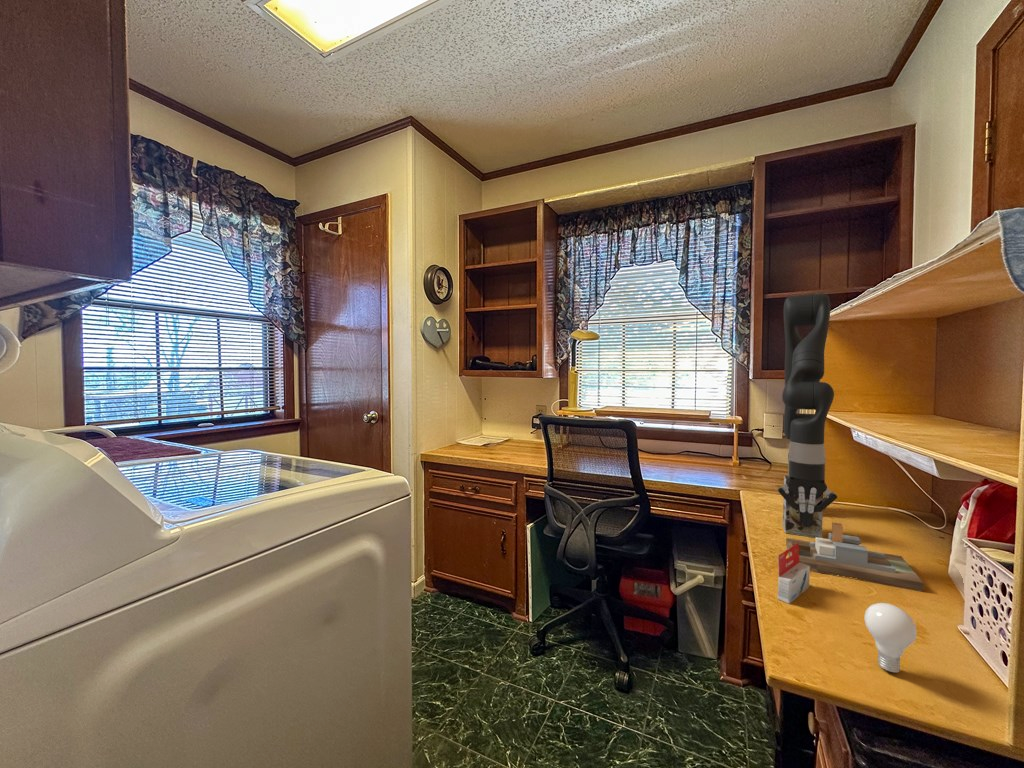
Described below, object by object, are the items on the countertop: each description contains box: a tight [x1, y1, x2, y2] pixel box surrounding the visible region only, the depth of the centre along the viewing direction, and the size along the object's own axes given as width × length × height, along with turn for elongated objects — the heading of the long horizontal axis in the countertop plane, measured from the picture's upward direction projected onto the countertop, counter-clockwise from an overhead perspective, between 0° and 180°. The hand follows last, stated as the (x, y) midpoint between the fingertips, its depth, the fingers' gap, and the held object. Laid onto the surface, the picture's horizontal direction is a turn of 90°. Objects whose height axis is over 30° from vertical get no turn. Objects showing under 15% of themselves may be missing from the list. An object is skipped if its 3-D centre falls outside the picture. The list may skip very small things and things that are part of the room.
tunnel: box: [809, 532, 896, 573], centre depth 101 cm, size 9×15×4 cm, turn 61°
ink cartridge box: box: [777, 542, 811, 604], centre depth 90 cm, size 2×11×10 cm, turn 125°
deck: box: [785, 537, 925, 593], centre depth 102 cm, size 14×24×2 cm, turn 61°
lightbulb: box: [863, 602, 918, 673], centre depth 67 cm, size 6×6×11 cm
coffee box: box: [782, 475, 824, 538], centre depth 121 cm, size 9×6×16 cm
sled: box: [815, 522, 855, 557], centre depth 102 cm, size 6×8×8 cm
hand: (805, 525), depth 105 cm, fingers closed
